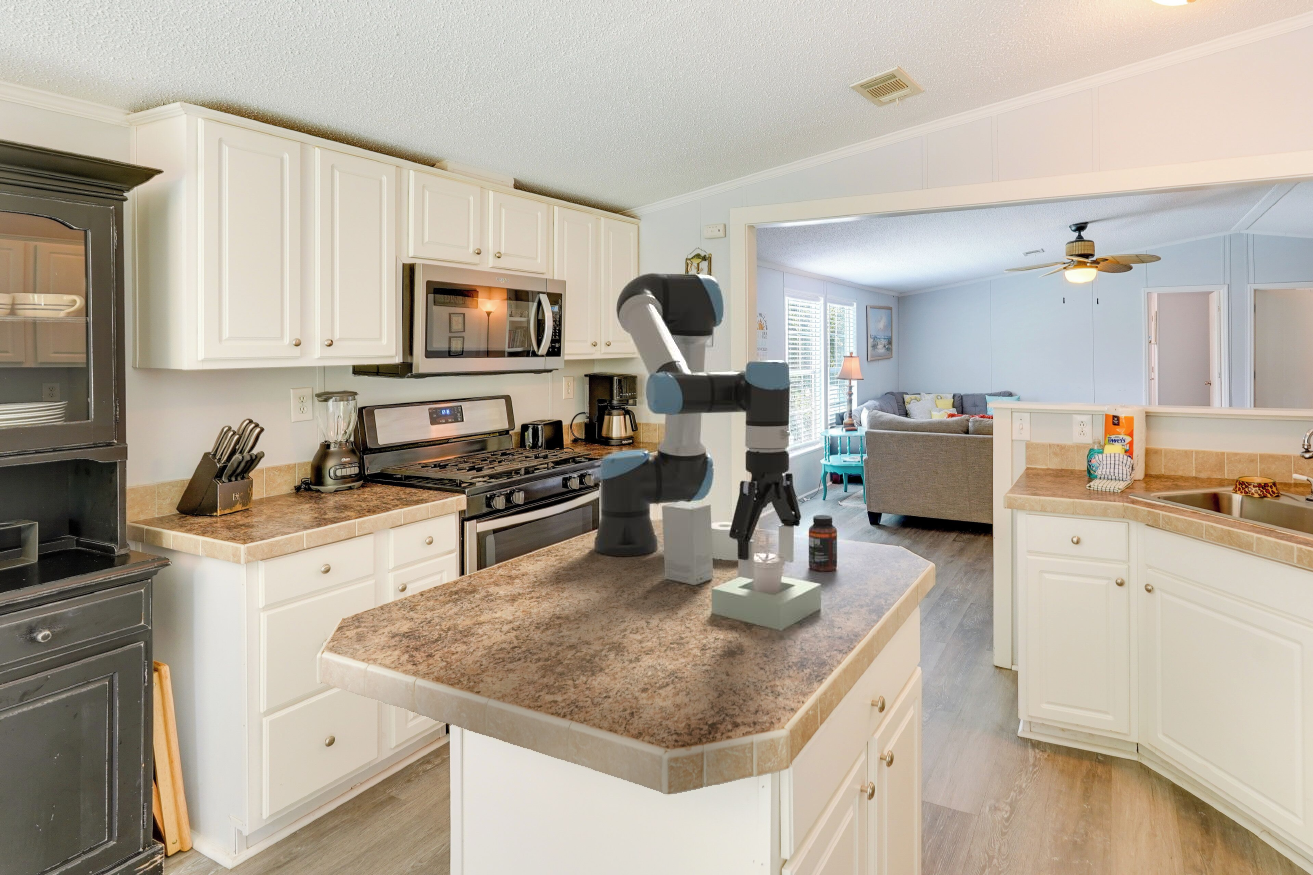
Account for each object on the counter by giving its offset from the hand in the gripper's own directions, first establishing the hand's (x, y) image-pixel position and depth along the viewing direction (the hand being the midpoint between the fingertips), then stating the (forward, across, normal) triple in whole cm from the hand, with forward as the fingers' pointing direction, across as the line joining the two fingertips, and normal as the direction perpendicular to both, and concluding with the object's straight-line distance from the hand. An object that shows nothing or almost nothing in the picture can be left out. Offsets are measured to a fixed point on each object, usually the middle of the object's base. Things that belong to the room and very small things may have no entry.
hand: (766, 568), depth 132 cm
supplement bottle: (+8, +31, +5) cm, 32 cm away
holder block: (+8, 0, 0) cm, 8 cm away
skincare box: (+8, +7, +23) cm, 25 cm away
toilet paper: (+8, +27, +26) cm, 38 cm away
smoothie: (+8, 0, 0) cm, 8 cm away
